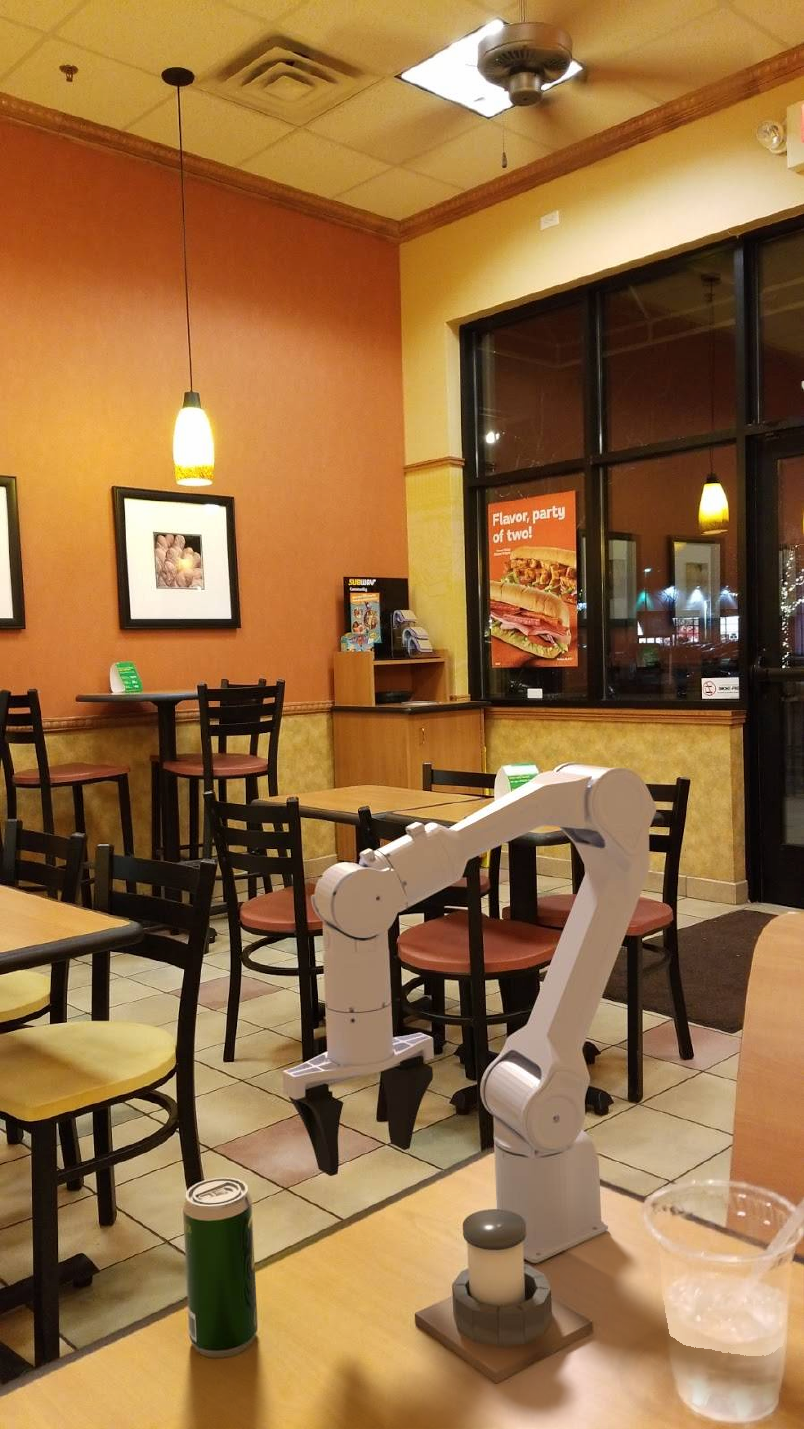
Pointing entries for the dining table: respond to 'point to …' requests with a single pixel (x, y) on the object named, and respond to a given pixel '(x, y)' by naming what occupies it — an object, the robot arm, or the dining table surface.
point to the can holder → (503, 1326)
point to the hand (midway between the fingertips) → (365, 1158)
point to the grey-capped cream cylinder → (495, 1257)
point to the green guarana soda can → (220, 1267)
